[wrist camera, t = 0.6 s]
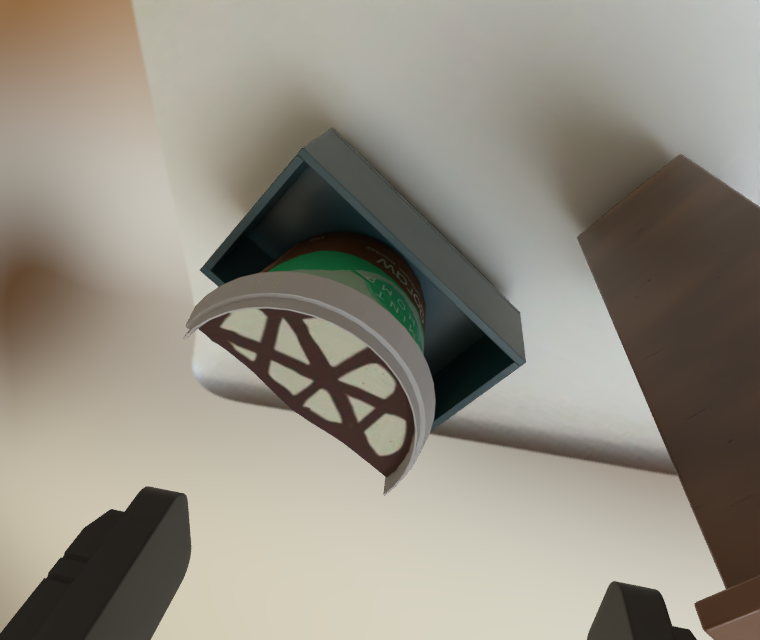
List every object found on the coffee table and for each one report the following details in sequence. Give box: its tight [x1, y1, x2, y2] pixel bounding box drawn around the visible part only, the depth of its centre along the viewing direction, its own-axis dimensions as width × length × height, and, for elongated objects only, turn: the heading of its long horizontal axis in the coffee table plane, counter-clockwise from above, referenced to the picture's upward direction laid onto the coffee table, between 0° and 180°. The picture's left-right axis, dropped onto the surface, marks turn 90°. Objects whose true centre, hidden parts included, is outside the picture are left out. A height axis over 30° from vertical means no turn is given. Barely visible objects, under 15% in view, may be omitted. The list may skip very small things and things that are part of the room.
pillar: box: [577, 154, 760, 589], centre depth 20 cm, size 6×6×21 cm
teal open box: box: [200, 128, 526, 432], centre depth 30 cm, size 8×14×5 cm, turn 47°
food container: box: [184, 232, 436, 495], centre depth 28 cm, size 12×6×10 cm, turn 48°
